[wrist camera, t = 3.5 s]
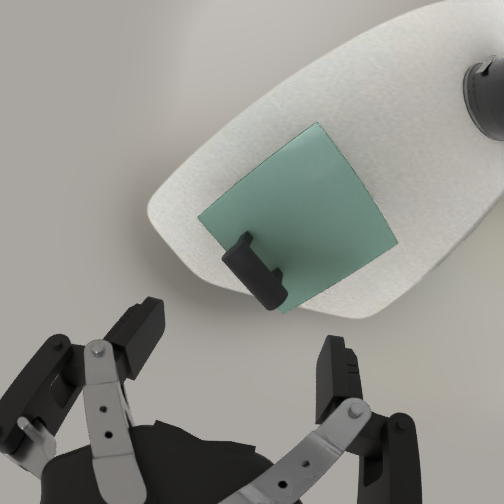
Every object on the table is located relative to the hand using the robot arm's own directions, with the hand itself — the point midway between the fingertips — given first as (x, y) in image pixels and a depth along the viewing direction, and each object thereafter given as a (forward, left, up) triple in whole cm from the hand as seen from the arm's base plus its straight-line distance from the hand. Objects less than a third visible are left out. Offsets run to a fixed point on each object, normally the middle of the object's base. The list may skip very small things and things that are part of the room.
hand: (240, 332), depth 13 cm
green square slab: (-3, -2, -9) cm, 10 cm away
